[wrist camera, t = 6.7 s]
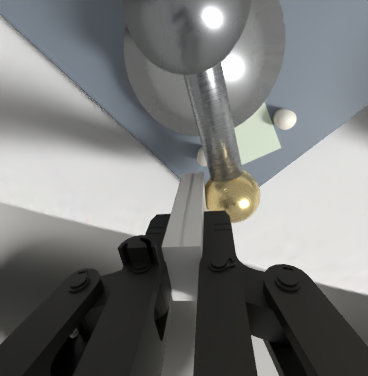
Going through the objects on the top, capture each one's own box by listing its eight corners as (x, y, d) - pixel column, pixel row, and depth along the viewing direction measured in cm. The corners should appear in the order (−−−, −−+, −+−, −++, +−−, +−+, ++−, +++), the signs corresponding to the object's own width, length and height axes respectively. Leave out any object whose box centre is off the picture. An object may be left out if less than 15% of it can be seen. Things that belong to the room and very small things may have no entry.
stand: (15, 13, 16) (-28, -1, 13) (165, -356, 9) (145, -544, 7) (220, 204, 21) (221, 223, 18) (414, 52, 14) (463, 46, 12)
